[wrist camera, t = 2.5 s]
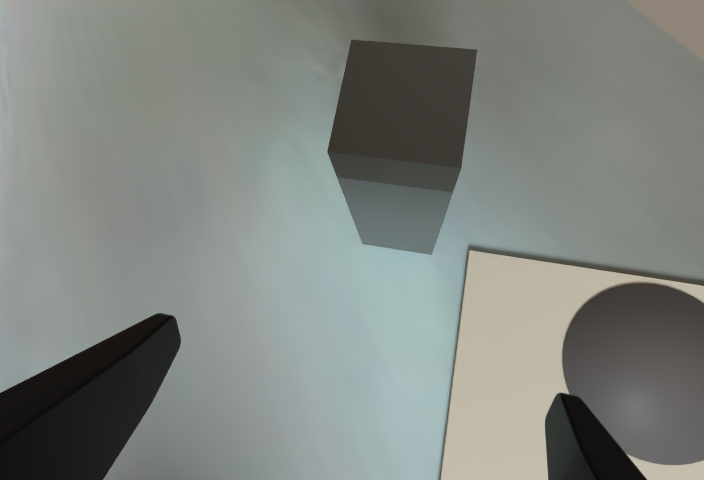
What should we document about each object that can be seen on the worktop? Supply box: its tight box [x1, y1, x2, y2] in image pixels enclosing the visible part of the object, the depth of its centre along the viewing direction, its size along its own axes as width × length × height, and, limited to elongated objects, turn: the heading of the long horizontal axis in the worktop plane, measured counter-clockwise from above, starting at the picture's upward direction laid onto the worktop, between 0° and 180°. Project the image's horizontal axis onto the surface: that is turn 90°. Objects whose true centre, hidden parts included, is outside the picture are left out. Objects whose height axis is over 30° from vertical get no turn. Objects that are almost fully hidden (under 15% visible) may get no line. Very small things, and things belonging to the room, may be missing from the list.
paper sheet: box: [440, 250, 704, 480], centre depth 20 cm, size 20×18×1 cm
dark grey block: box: [328, 40, 477, 255], centre depth 19 cm, size 4×4×12 cm
